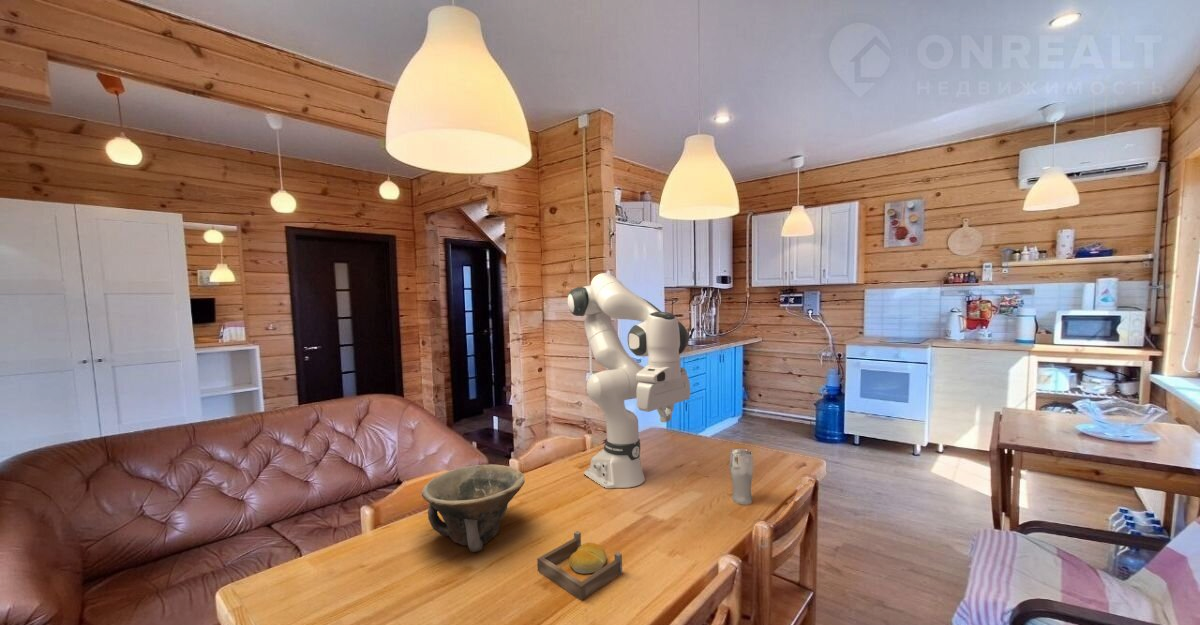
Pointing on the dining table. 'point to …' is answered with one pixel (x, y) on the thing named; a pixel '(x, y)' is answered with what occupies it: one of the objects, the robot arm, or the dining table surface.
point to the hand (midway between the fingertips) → (665, 421)
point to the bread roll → (588, 558)
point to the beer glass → (741, 475)
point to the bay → (568, 581)
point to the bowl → (471, 502)
